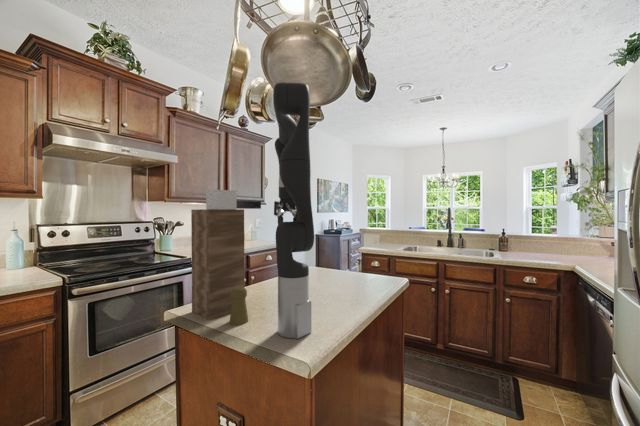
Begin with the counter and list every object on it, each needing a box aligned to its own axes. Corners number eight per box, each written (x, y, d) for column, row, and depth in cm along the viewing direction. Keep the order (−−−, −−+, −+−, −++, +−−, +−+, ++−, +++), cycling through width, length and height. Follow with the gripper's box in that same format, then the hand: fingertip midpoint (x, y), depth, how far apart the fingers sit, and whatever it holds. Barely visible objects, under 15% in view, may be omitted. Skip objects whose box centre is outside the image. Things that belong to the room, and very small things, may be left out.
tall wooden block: (244, 308, 110) (244, 209, 110) (210, 319, 99) (209, 209, 99) (225, 302, 117) (225, 209, 117) (191, 311, 106) (191, 209, 106)
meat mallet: (264, 209, 121) (264, 192, 121) (217, 209, 104) (217, 189, 103) (252, 209, 125) (252, 193, 125) (206, 209, 108) (206, 190, 108)
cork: (243, 325, 94) (243, 291, 94) (225, 324, 95) (225, 290, 95) (251, 318, 100) (251, 286, 99) (235, 317, 101) (234, 285, 101)
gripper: (269, 187, 122) (269, 226, 122) (294, 185, 113) (294, 227, 113) (282, 188, 128) (282, 225, 128) (307, 186, 119) (307, 226, 119)
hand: (288, 226), depth 121 cm, fingers open, 8 cm apart
